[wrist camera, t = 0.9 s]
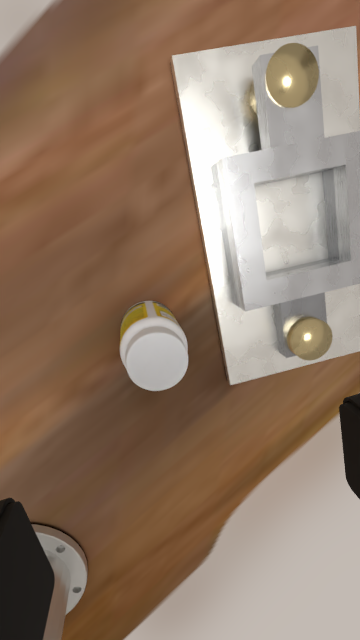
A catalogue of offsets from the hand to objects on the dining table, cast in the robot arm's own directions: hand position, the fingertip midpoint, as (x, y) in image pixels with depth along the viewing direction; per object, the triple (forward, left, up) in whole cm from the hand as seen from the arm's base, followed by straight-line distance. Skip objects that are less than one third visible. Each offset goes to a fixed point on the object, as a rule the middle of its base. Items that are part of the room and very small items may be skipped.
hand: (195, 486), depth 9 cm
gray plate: (+5, -13, -20) cm, 24 cm away
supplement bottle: (-1, 0, -20) cm, 20 cm away
